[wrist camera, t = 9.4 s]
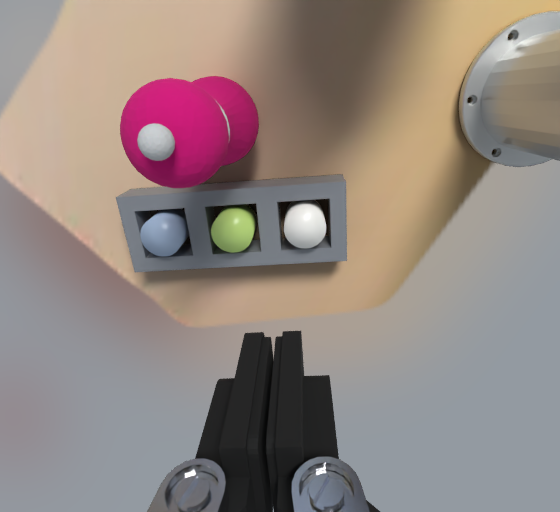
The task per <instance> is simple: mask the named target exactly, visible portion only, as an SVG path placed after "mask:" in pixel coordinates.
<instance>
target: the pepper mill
mask: <svg viewBox="0 0 560 512" xmlns="http://www.w3.org/2000/svg"><path fill="white" fill-rule="evenodd" d="M258 127H259V121H258V114H257V110H256V107H255V104H254V102H253V100H252V98H251V97H250V95H249V94H248V93H247V92H246V91H245V90H244V89H243V88H242V87H241V86H240V85H239V84H237V83H236V82H234V81H232V80H230V79H227V78H224V77H218V76H209V77H204V78H200V79H197V80H195V81H193V82H188V81H186V80H180V79H173V78H168V79H160V80H155V81H152V82H150V83H148V84H146V85H144V86H143V87H141V88H140V89H138V90H137V91H136V92H135V93H134V94H133V95H132V96H131V98H130V99H129V100H128V102H127V104H126V106H125V108H124V110H123V113H122V116H121V124H120V135H121V140H122V144H123V147H124V150H125V153H126V155H127V157H128V158H129V160H130V162H131V163H132V165H133V166H134V167H135V168H136V170H137V171H138V172H140V173H141V174H142V175H143V176H144V177H146V178H147V179H149V180H150V181H152V182H154V183H157V184H159V185H161V186H165V187H169V188H190V187H193V186H197V185H199V184H201V183H203V182H205V181H206V180H208V179H209V178H211V177H212V176H213V175H214V174H215V173H216V172H217V171H218V170H219V168H220V167H221V166H224V165H228V164H231V163H234V162H236V161H238V160H240V159H241V158H243V157H244V156H245V155H246V154H247V153H248V152H249V151H250V149H251V148H252V146H253V145H254V143H255V140H256V138H257V134H258Z"/></svg>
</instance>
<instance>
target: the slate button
mask: <svg viewBox="0 0 560 512" xmlns="http://www.w3.org/2000/svg"><path fill="white" fill-rule="evenodd" d="M140 236H141V241H142V243H143V245H144V247H145V248H146V249H147V250H148V251H149V252H151V253H152V254H154V255H157V256H162V257H165V256H170V255H173V254H174V253H176V252H177V251H178V249H179V248H180V247H181V246H182V244H183V243H184V242H185V240H186V239H187V238H188V237H189V230H188V225H187V219H186V214H185V211H183V210H182V209H180V208H178V209H163V210H160V211H159V212H158V213H156V214H155V215H154V216H153V217H152V218H150V219H149V220H148V221H147V222H146V223H145V224H144V225H143V226H142V228H141V233H140Z"/></svg>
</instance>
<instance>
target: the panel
mask: <svg viewBox="0 0 560 512" xmlns="http://www.w3.org/2000/svg"><path fill="white" fill-rule="evenodd" d="M315 199H328V225H329V236H324V238H323V240H322V241H321V242H320V243H319V244H318V245H316V246H314V247H312V248H298V247H296V246H294V245H292V244H291V243H290V242H289V241H288V240H287V238H283V237H282V225H281V213H280V202H284V201H299V200H315ZM116 200H117V204H118V208H119V212H120V216H121V220H122V224H123V228H124V232H125V235H126V239H127V243H128V247H129V251H130V255H131V259H132V263H133V267H134V271H135V272H147V271H166V270H184V269H203V268H222V267H240V266H259V265H277V264H296V263H315V262H333V261H347V228H346V181H345V179H344V177H343V175H342V174H337V175H323V176H309V177H295V178H280V179H266V180H252V181H238V182H224V183H210V184H199V185H197V186H193V187H190V188H169V187H153V188H139V189H130V190H128V191H126V192H125V193H123V194H121V195H119V196H117V197H116ZM254 203H256V206H257V215H258V225H259V234H260V240H252V241H251V243H250V245H249V246H248V247H247V248H246V249H244V250H242V251H240V252H235V253H231V252H226V251H224V250H222V249H220V248H219V247H218V246H217V245H216V244H215V242H214V241H213V238H212V235H211V228H212V225H213V223H214V221H215V220H216V218H215V211H214V206H224V205H239V204H254ZM178 208H185V214H186V219H187V225H188V230H189V235H190V241H191V244H182V246H181V247H180V248H179V249H178V251H177V252H176V253H174V254H173V255H170V256H165V257H162V256H157V255H154V254H152V253H151V252H149V251H148V250H147V249H146V248H145V247H144V245H143V243H142V241H141V236H140V233H141V228H142V226H143V225H144V224H145V223H146V222H147V221H148V220H149V219H150V218H151V215H150V210H163V209H178Z"/></svg>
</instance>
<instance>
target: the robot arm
mask: <svg viewBox="0 0 560 512" xmlns="http://www.w3.org/2000/svg"><path fill="white" fill-rule="evenodd" d="M508 34H509V35H510V39H509V40H508ZM468 97H470V98H471V100H470V102H469V103H467V99H468ZM459 118H460V123H461V127H462V131H463V133H464V135H465V137H466V139H467V141H468V142H469V144H470V145H471V146H472V147H473V148H474V150H475V151H476V152H478V153H479V154H480V155H482V156H483V157H484V158H486V159H488V160H491V161H493V162H495V163H499V164H502V165H505V166H513V167H524V166H532V165H536V164H541V163H544V162H547V161H549V160H551V159H555V160H559V161H560V11H549V12H544V13H539V14H534V15H532V16H529V17H526V18H523V19H521V20H519V21H517V22H515V23H513V24H511V25H509V26H507V27H506V28H504V29H503V30H502V31H500V32H499V33H498V34H496V35H495V36H494V37H493V38H492V39H491V40H490V41H489V42H488V43H487V44H486V45H485V46H484V47H483V48H482V49H481V51H480V52H479V53H478V55H477V56H476V58H475V59H474V60H473V62H472V64H471V66H470V68H469V70H468V72H467V74H466V76H465V79H464V82H463V85H462V88H461V93H460V100H459ZM493 149H494V153H493V154H492V150H493ZM273 508H274V512H380V511H379V510H378V509H376V508H375V507H374V506H373V505H372V504H370V503H369V502H368V501H367V500H366V498H365V495H364V492H363V489H362V486H361V483H360V481H359V478H358V476H357V474H356V472H355V471H354V470H353V469H352V468H351V467H350V466H349V465H348V464H346V463H344V462H343V461H341V460H340V459H339V457H338V449H337V439H336V430H335V421H334V412H333V403H332V394H331V386H330V377H329V375H326V376H304V367H303V352H302V339H301V331H285V332H283V336H282V337H276V341H275V351H274V361H273V352H272V344H271V337H264V333H263V332H260V333H245V335H244V340H243V343H242V348H241V353H240V357H239V361H238V366H237V370H236V375H235V378H231V379H219V380H218V382H217V384H216V388H215V391H214V395H213V398H212V402H211V405H210V409H209V412H208V416H207V419H206V423H205V426H204V430H203V433H202V437H201V440H200V444H199V448H198V451H197V454H196V458H195V459H192V460H189V461H185V462H183V463H182V464H180V465H178V466H177V467H175V468H174V469H173V470H172V471H171V472H170V473H169V474H167V476H166V477H165V479H164V480H163V482H162V483H161V485H160V487H159V489H158V491H157V493H156V495H155V497H154V499H153V501H152V503H151V505H150V507H149V509H148V511H147V512H273Z"/></svg>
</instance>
